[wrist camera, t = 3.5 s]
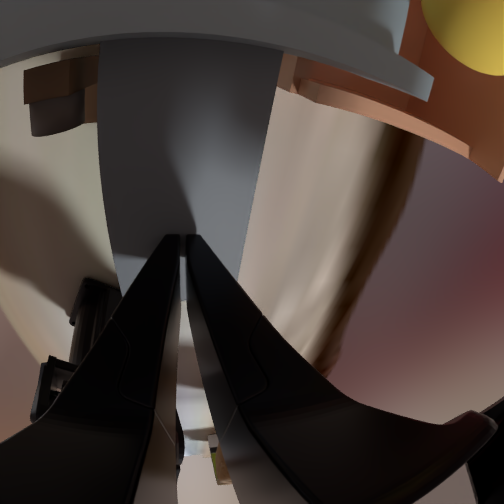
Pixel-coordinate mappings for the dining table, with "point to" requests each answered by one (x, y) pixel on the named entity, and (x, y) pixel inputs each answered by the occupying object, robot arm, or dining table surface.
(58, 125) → the lever stand
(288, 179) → the dining table surface
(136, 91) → the grey flat piece
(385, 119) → the brown boxy piece
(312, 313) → the dining table surface
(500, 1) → the ball
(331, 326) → the dining table surface
